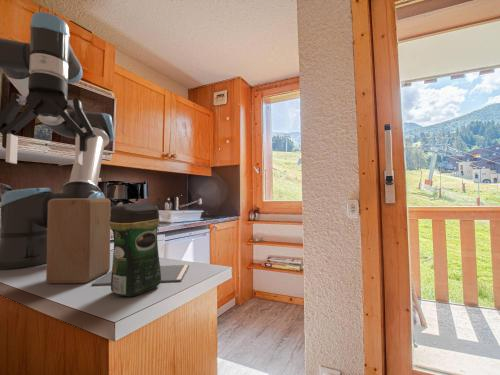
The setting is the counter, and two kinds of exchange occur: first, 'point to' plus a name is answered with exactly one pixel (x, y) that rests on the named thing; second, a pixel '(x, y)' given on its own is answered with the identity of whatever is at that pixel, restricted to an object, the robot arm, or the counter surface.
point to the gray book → (167, 274)
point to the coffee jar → (135, 248)
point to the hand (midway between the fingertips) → (46, 163)
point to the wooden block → (78, 239)
